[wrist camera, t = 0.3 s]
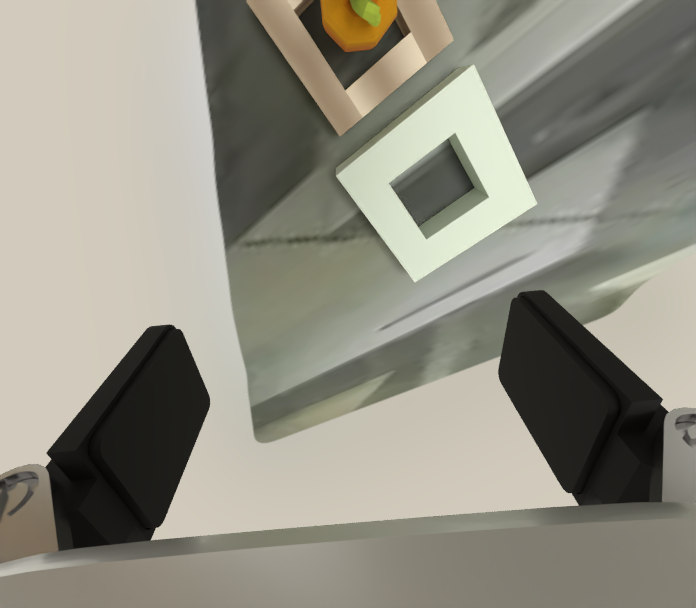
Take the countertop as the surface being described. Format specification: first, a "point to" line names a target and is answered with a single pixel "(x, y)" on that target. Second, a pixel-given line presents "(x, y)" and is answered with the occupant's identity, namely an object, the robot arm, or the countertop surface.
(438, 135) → the pale green square frame
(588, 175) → the countertop surface
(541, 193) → the countertop surface
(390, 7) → the carrot
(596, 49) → the countertop surface
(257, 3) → the socket block
